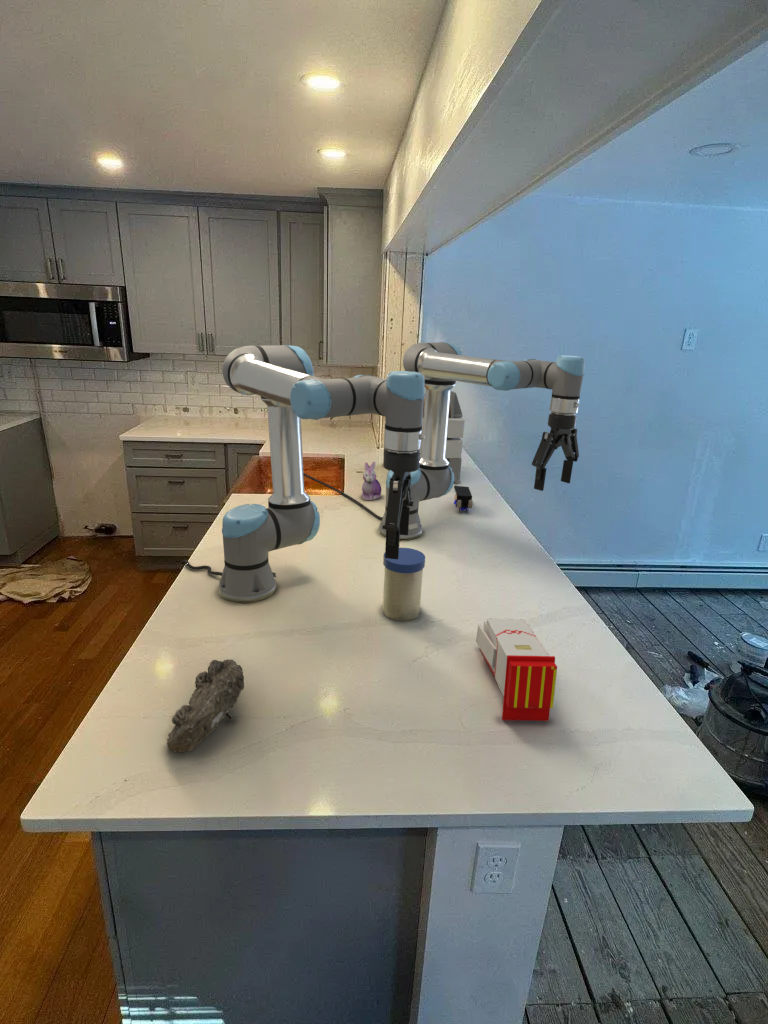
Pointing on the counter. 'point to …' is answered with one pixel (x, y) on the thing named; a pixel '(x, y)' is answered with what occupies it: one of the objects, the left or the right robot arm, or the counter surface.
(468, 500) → the figurine character
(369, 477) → the figurine
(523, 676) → the toy
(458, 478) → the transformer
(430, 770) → the counter surface
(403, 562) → the lid
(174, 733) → the fossil
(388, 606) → the jar
